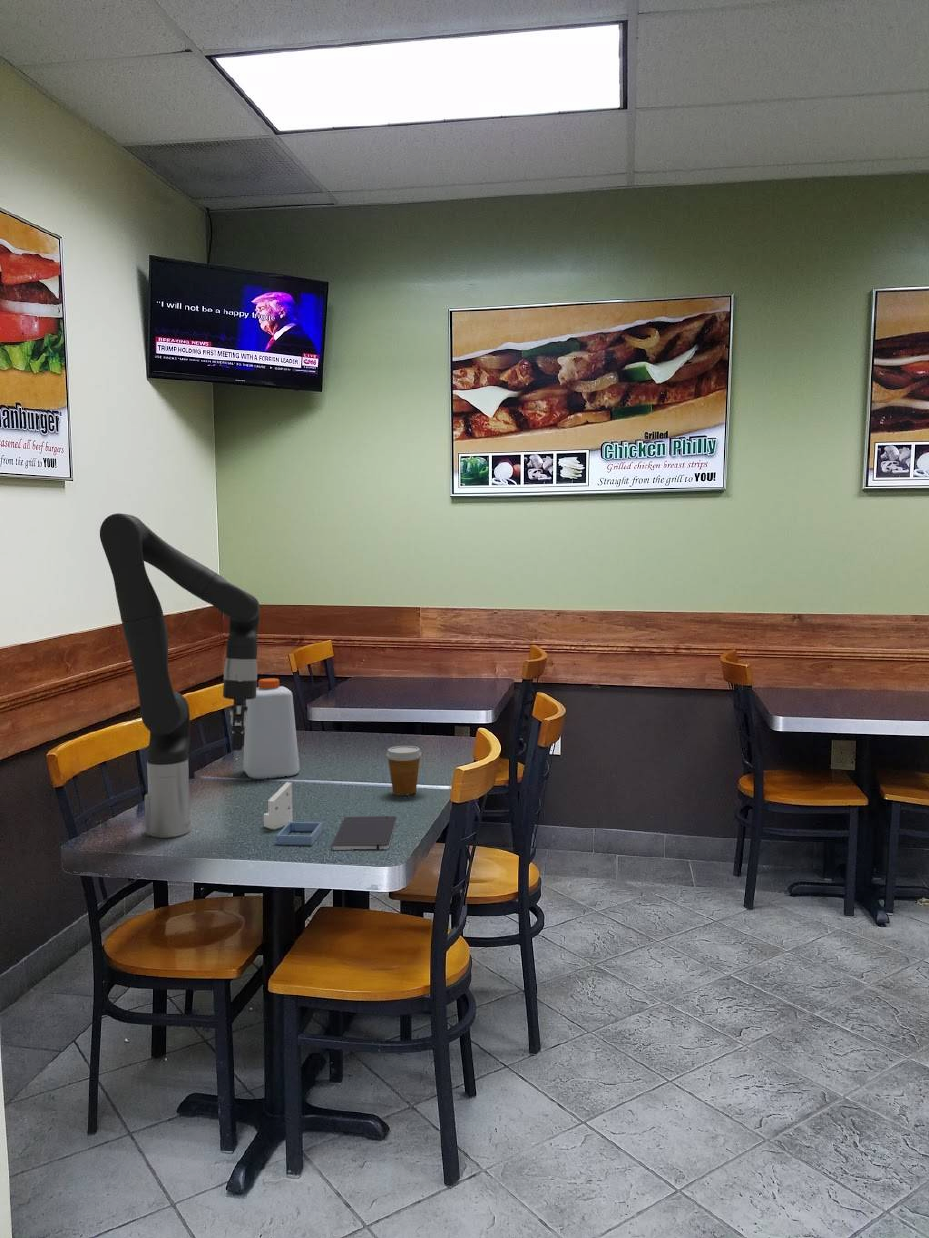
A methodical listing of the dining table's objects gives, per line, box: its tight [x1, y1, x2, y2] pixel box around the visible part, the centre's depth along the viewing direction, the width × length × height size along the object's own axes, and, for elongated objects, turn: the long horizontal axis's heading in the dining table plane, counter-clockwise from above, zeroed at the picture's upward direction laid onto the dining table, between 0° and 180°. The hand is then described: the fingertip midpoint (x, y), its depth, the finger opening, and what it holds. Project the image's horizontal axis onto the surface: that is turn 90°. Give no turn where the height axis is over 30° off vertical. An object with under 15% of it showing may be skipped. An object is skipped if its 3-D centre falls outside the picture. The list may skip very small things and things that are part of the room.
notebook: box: [330, 815, 397, 851], centre depth 208 cm, size 13×2×21 cm
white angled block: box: [263, 781, 294, 830], centre depth 216 cm, size 4×10×9 cm, turn 141°
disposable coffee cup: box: [386, 745, 422, 796], centre depth 243 cm, size 10×10×12 cm
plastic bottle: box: [242, 677, 300, 780], centre depth 265 cm, size 15×15×28 cm
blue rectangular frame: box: [275, 821, 324, 846], centre depth 206 cm, size 8×10×2 cm
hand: (237, 747), depth 208 cm, fingers open, 8 cm apart
